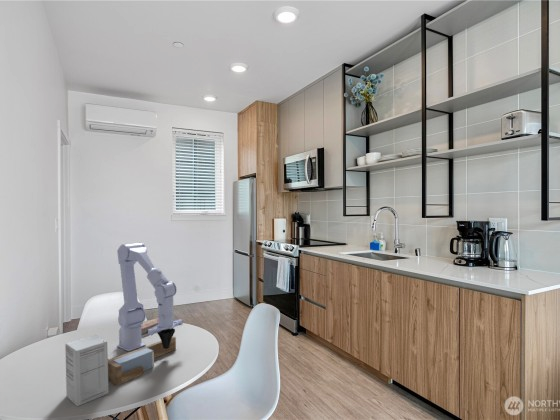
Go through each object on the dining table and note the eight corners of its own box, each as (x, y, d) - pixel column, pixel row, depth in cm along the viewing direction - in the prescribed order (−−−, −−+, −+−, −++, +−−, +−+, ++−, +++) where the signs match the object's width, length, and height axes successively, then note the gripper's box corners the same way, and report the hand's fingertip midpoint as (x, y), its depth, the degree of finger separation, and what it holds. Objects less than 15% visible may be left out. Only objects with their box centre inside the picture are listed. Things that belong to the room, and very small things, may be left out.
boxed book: (113, 377, 118) (112, 360, 118) (147, 363, 128) (146, 347, 128) (119, 381, 115) (119, 363, 115) (153, 366, 125) (153, 350, 125)
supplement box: (97, 384, 113) (96, 334, 113) (109, 393, 107) (108, 340, 107) (65, 396, 106) (64, 342, 105) (76, 407, 100) (75, 350, 100)
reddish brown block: (155, 315, 172) (168, 319, 166) (155, 325, 172) (168, 328, 166) (123, 326, 156) (136, 330, 151) (123, 336, 156) (136, 341, 151)
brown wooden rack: (101, 376, 118) (101, 359, 118) (173, 348, 142) (173, 333, 142) (116, 385, 112) (116, 367, 112) (188, 354, 136) (188, 339, 136)
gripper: (155, 320, 125) (155, 356, 125) (187, 310, 136) (187, 344, 137) (144, 316, 129) (145, 352, 129) (176, 307, 141) (176, 340, 141)
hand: (166, 347), depth 133 cm, fingers closed
